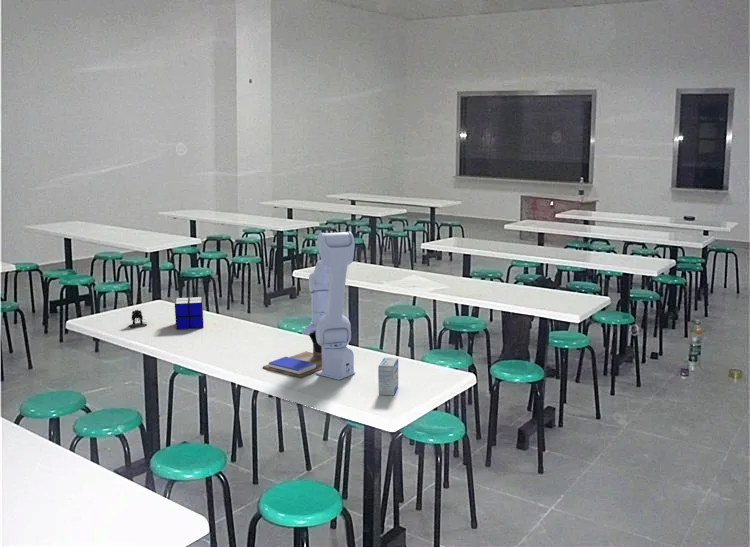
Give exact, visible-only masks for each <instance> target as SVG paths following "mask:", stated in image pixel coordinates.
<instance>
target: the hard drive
mask: <svg viewBox="0 0 750 547" xmlns="http://www.w3.org/2000/svg"><path fill="white" fill-rule="evenodd" d="M290 357H291V356H283V357H281V358H278V359H275V360H273V361H270V362H268V364H269V367H272V368H276V369H280V370H284V371H288V372H292V373H296V374H301V373H304V372H307V371H309V370H312V369H314V368H316V363H312V362H307V361H303V360H299V359H294V358H290Z"/></svg>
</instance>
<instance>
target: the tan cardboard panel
mask: <svg viewBox="0 0 750 547" xmlns="http://www.w3.org/2000/svg"><path fill="white" fill-rule="evenodd" d="M312 351H313V352H309V351H303V352H300V353H297V354H294V355H292V356H289V357H290V358H294V359H299V360H303V361H307V362H312V363H316V368H314V369H312V370H309V371H307V372H304V373H301V374H296V373H292V372H288V371H284V370H280V369H276V368H272V367H269V363H268V364H266V365H263V366H262V369H265V370H268V371H272V372H274V373H275V372H276V373H280V374H284V375H288V376H290V377H294V378H298V379H303V378H305V377H308V376H310V375H312V374H316V372H318V371H321V370H322V352H321V353H318V352H315V348H314V345H313V344H312Z"/></svg>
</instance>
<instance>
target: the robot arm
mask: <svg viewBox="0 0 750 547" xmlns="http://www.w3.org/2000/svg"><path fill="white" fill-rule="evenodd" d="M317 235H318V236H317V239H316V240H317V241H316V242H317V243H316V244H317V250H318V251H317V252H319V258H320V260H318V261H317V262H316V263H315V267H314V270H313V272H311V273H310V274H309V276H308V288H309V289H308V290H309V291H310V293H311V295H310V296H311V298H310V300H311V322H309V325H307V326H306V327H303V329H302V330H303V331H302V333H303V335H306V336H309V338H310V340H311V341H312V346H313V345H314V348H315V352H318V353H321V352H322V370H321V371H318V372H316V373H315V375H319V376H322V377H326V378H331V379H334V380H338V381H340V380H343V379H346V378H347V377H351V376H352V375H354V374H356V371H355V370H354V369H355V367H354V364H355V363H354V362H355V361H354V357H355V356H354V352H353V350H352V349H351V348H348V344H349V343H350V342H351V338H352V330H351V328H352V327H351V326H352V325H351V322H350V320H349V318H348V317H347V316H346V315H344V314H343V313H344V304H345V303H344V302H345V292H346V291H345V290H346V279H347V272H348V268H349V267H348V266H349V265H350V264H352V263H353V262H354V256H355V247H356V245H355V238H354V235H353V233H352V232H351V231H350V230H349V231H343V232H319V234H317Z"/></svg>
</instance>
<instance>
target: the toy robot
mask: <svg viewBox="0 0 750 547" xmlns="http://www.w3.org/2000/svg"><path fill="white" fill-rule="evenodd" d="M142 313H143V312H142V310H139V309H135V310H132V312H131V320H130V322H132V323H130V324H129V325H128V326H127V327H128V328H129V327H130V329H140V328H145V327H147V326H148V324H147V321H145V319H144V317H143V315H142ZM137 321H138V322H137ZM136 322H137V323H136Z"/></svg>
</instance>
